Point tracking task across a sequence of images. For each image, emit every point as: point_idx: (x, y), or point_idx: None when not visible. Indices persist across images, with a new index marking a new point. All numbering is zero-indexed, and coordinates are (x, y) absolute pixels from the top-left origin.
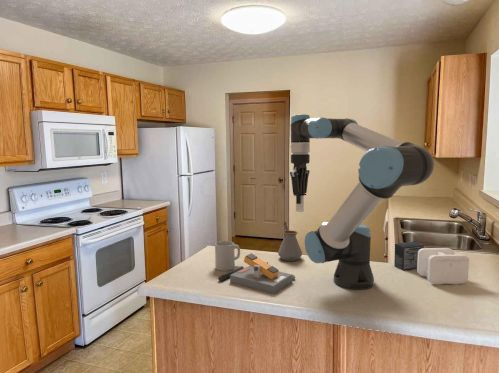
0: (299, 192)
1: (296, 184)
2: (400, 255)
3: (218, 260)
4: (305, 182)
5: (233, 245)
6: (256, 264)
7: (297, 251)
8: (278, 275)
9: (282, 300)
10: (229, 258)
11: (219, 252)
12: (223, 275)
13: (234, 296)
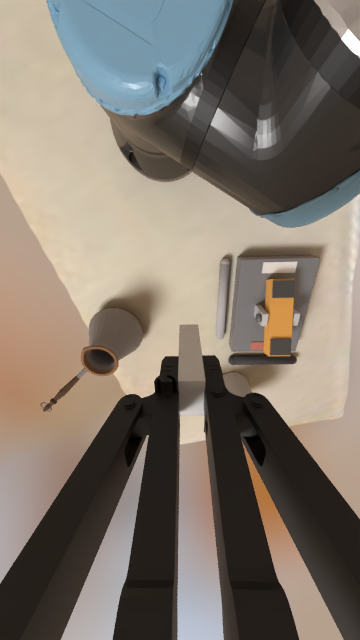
0: (252, 408)
1: (339, 501)
2: None
3: None
4: (95, 503)
5: None
6: (290, 324)
7: (117, 316)
8: (259, 280)
9: (335, 223)
10: (244, 388)
11: None
12: (288, 361)
13: (343, 305)
